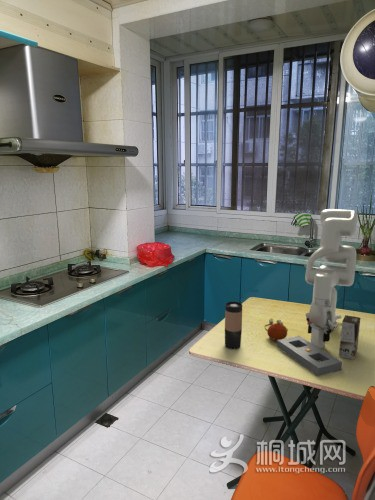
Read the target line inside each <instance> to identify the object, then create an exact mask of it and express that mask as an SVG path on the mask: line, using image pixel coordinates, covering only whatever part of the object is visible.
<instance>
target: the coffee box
mask: <svg viewBox="0 0 375 500" xmlns="http://www.w3.org/2000/svg"><path fill="white" fill-rule="evenodd" d="M360 327H361V317H359V316H353V315H347V314H345V315H344V318H343V320H342V323H341V330H340V341H339V351H338V356H339V357H342V358H346V359H350V360H353V359H354V360H355V359H356V358H355V357H356V354H357V353H356V352H358V344H359V336H360Z"/></svg>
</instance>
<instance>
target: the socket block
mask: <svg viewBox="0 0 375 500" xmlns="http://www.w3.org/2000/svg"><path fill="white" fill-rule="evenodd" d="M276 342H277V345H276V346H277V348H278V349H279V350H280V351H281V352H283V353H285V355H288V356H289V357H290V358H291V359H294V360H295V361H296V362H298V363H299V365H301V366H302V367H305V368H306V369H308V370H309V371H310V372H311V373H313V374H314V375H316V376H317V377H320V376H325V375H328V374H331V372H332V373H335V371H336V372H338V371H342V368H343V367H342V366H343V361H341V360H340V359H338V358H337V357H335V356H333V355H331V354H330V353H329V352H327V351H325V350H323V348H319V347H317V346H315V345H314V344H312V343H311V341H309V340H307V339H305V338H304V337H302V336H301V335H296V336H290V337H285V338H284V339H280V340H278V341H276Z"/></svg>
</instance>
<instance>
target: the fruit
mask: <svg viewBox="0 0 375 500" xmlns="http://www.w3.org/2000/svg"><path fill="white" fill-rule="evenodd" d="M283 325H284V324H283ZM283 325H281V324H279V323H277V322H276V323H272V325H268V326H269V327H268V328H267V330H268V331H266V332H267V336H268V337H269V338H271V340H274V341H276V342H278V340H280V339H285V338H287V336H288V331H287V329H286V328H287V327H286V326H285V325H284V326H285V327H286V328H285V327H284V326H283Z"/></svg>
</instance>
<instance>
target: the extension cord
mask: <svg viewBox="0 0 375 500" xmlns="http://www.w3.org/2000/svg"><path fill="white" fill-rule="evenodd" d="M273 322H274V319H273V318H269V323H268V324H266V325H264V329H265V331H266V332H267V331H268V328H266V327H267V326H271V325H272V324H274V323H273ZM276 323H279V324H281V325H283V326H284V327H285V328H286V330H287V332H288V328H287V327H286V326H285V325H284V322H282V321H281V319H277V320H276Z"/></svg>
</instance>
